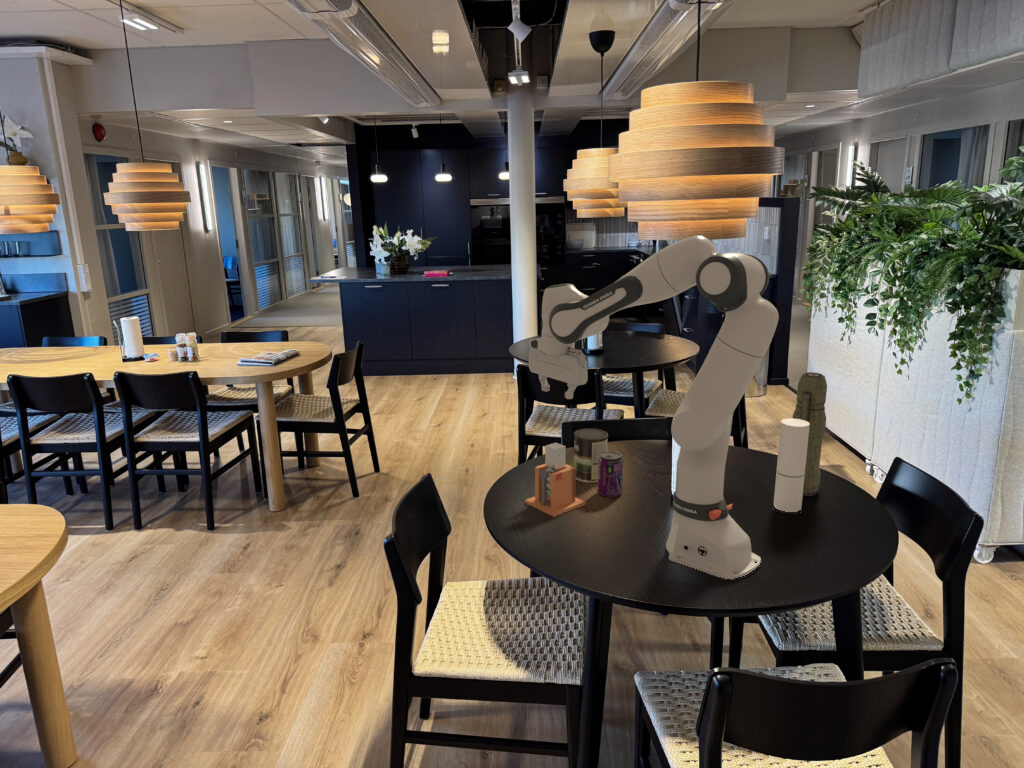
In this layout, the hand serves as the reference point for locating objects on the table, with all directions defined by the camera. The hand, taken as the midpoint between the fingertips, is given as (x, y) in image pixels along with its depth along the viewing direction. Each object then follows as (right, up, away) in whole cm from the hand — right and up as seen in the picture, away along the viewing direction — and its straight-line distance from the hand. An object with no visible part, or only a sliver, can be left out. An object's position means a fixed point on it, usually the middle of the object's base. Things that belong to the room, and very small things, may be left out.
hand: (557, 394), depth 192 cm
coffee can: (+12, -26, +27) cm, 40 cm away
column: (0, -30, +7) cm, 31 cm away
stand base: (0, -31, +8) cm, 32 cm away
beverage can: (+16, -29, +14) cm, 36 cm away
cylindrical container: (+63, -32, +3) cm, 71 cm away
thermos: (+73, -29, +15) cm, 79 cm away
